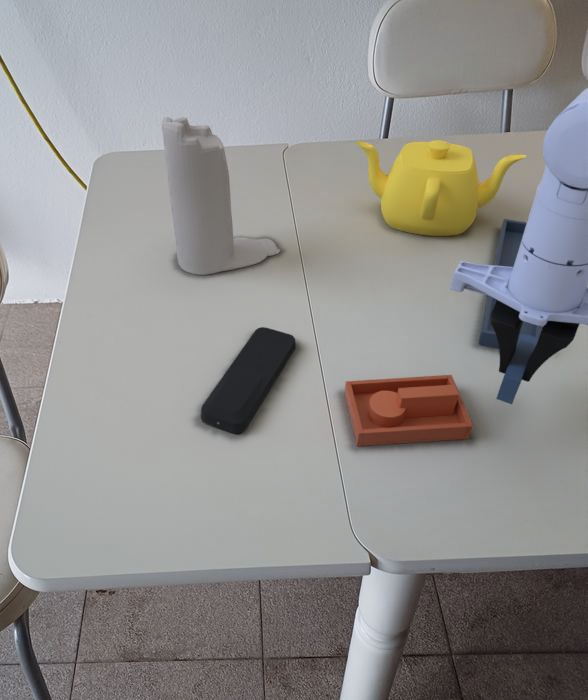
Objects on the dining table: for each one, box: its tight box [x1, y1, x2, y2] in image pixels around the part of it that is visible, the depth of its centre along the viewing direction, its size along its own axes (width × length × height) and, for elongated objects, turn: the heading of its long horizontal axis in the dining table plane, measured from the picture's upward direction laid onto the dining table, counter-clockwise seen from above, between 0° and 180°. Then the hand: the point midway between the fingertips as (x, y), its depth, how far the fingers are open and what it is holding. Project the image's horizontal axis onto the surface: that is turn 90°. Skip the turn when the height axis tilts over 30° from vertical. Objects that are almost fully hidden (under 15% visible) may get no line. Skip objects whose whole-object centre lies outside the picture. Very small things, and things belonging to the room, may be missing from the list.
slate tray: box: [478, 218, 542, 350], centre depth 79 cm, size 25×6×2 cm, turn 158°
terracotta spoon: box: [368, 385, 460, 428], centre depth 64 cm, size 8×4×3 cm, turn 93°
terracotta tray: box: [344, 374, 474, 447], centre depth 65 cm, size 11×7×2 cm, turn 93°
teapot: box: [355, 139, 527, 237], centre depth 88 cm, size 22×16×11 cm
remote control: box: [200, 326, 297, 434], centre depth 69 cm, size 5×2×15 cm
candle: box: [161, 116, 281, 276], centre depth 81 cm, size 7×14×20 cm, turn 106°
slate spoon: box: [495, 334, 538, 405], centre depth 60 cm, size 8×4×3 cm, turn 148°
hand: (516, 370), depth 59 cm, fingers closed on slate spoon
